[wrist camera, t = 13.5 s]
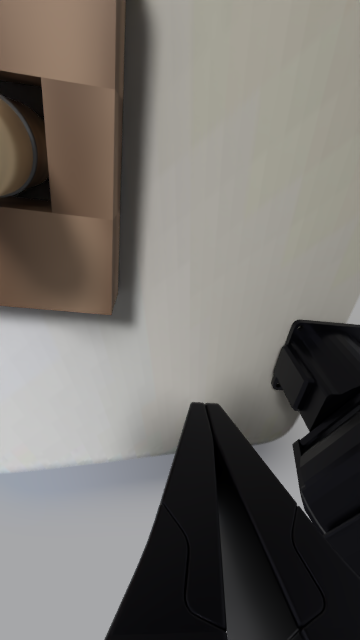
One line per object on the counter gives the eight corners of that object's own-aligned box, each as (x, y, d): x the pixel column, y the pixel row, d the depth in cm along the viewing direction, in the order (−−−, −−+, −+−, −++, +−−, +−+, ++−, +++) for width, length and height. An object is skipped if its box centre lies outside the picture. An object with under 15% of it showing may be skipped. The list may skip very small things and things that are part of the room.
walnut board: (127, -63, 12) (117, -121, 9) (117, 293, 20) (111, 315, 17) (-176, -130, 11) (-281, -218, 8) (-59, 277, 19) (-94, 297, 16)
